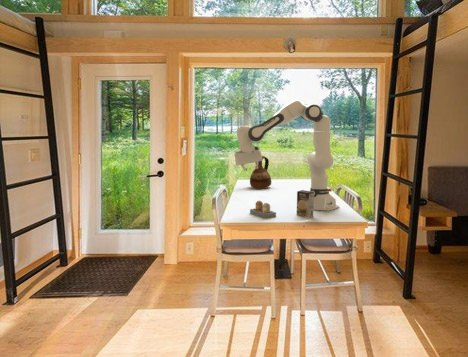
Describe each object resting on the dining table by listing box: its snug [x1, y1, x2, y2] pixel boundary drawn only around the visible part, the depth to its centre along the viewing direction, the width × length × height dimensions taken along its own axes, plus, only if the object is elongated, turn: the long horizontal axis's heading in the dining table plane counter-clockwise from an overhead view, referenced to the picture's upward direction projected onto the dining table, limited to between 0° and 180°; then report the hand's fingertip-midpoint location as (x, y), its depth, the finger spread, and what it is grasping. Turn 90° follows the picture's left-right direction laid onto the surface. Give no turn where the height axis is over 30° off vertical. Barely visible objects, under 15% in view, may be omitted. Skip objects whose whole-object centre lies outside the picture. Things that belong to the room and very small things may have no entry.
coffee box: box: [296, 189, 314, 218], centre depth 228 cm, size 9×6×16 cm
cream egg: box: [263, 202, 271, 214], centre depth 226 cm, size 5×5×8 cm
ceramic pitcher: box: [249, 155, 272, 189], centre depth 335 cm, size 20×20×30 cm
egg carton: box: [249, 207, 277, 219], centre depth 230 cm, size 8×16×4 cm, turn 32°
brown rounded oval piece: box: [255, 200, 264, 211], centre depth 233 cm, size 5×5×8 cm
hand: (251, 169), depth 245 cm, fingers open, 8 cm apart
